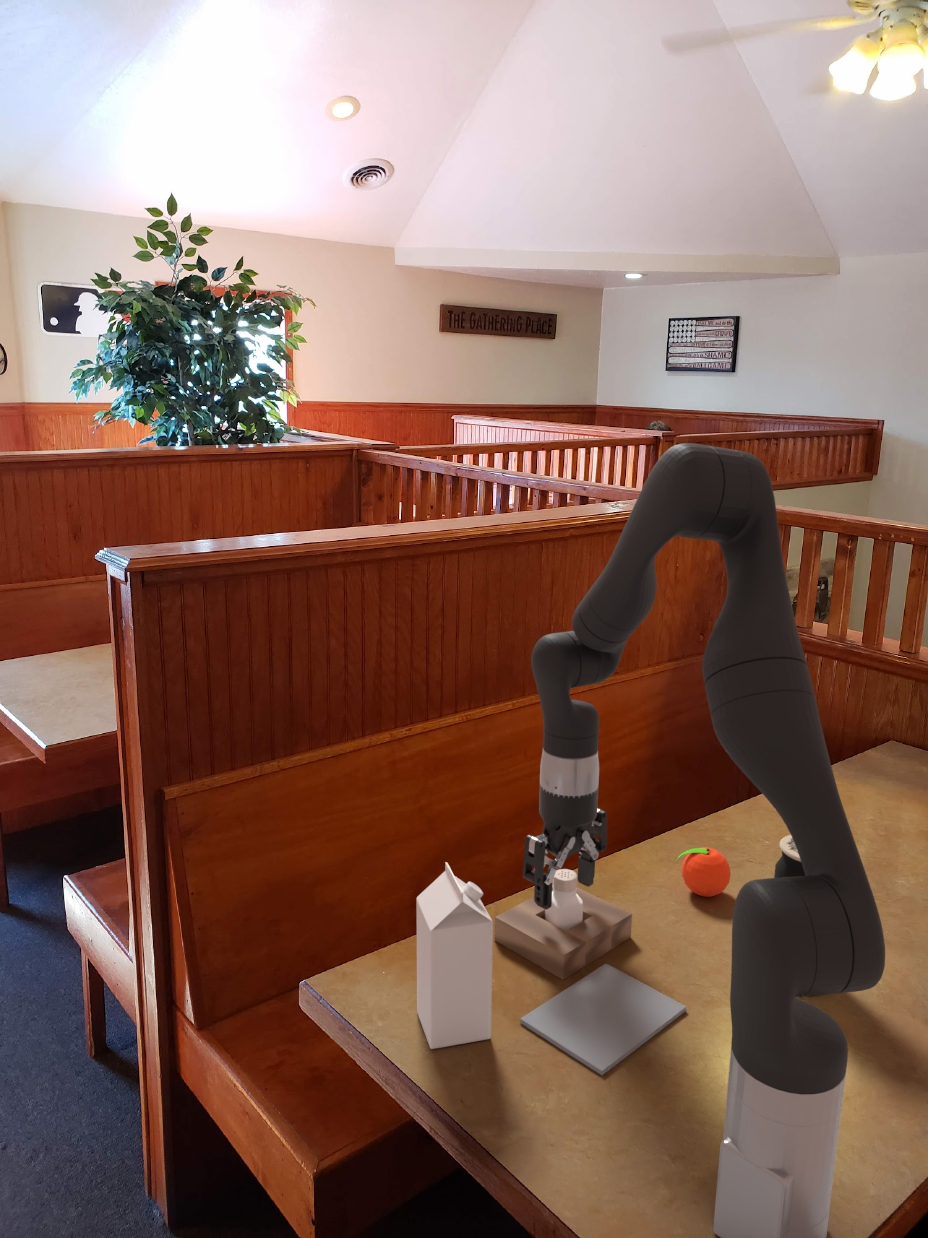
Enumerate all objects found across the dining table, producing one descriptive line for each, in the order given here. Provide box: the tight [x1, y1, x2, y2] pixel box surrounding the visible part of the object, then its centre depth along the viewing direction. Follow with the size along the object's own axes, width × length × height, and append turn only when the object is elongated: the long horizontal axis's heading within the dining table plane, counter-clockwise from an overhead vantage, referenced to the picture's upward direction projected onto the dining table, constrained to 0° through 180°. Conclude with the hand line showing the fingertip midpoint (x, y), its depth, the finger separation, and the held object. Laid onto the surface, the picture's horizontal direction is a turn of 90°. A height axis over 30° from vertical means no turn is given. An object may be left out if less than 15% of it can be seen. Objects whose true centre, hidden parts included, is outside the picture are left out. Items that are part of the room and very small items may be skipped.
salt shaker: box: [545, 868, 583, 931], centre depth 127 cm, size 4×4×10 cm
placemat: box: [519, 963, 687, 1076], centre depth 112 cm, size 16×12×1 cm
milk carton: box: [416, 861, 494, 1050], centre depth 108 cm, size 7×7×19 cm
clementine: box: [674, 846, 732, 898], centre depth 139 cm, size 8×7×7 cm
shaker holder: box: [494, 886, 633, 981], centre depth 128 cm, size 14×12×4 cm
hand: (564, 895), depth 127 cm, fingers open, 8 cm apart
